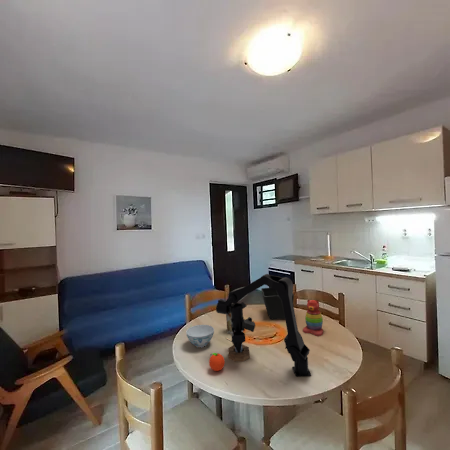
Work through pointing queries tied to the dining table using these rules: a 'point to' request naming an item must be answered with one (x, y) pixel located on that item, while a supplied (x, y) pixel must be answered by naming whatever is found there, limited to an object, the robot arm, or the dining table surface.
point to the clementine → (216, 362)
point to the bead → (239, 354)
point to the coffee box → (229, 323)
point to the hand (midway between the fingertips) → (238, 347)
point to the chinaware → (200, 334)
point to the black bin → (273, 303)
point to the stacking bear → (313, 319)
